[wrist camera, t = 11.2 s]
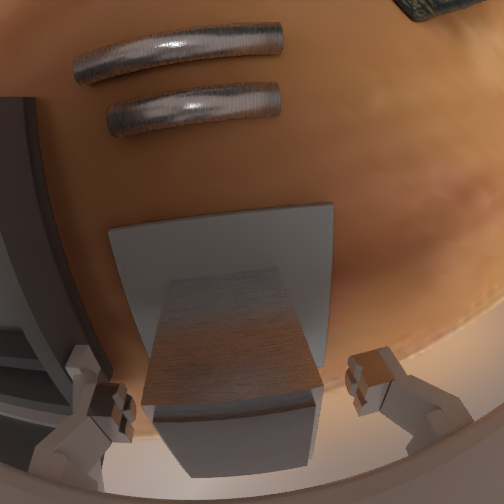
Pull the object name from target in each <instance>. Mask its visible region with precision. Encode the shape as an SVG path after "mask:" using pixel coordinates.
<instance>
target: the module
mask: <svg viewBox="0 0 504 504" xmlns="http://www.w3.org/2000/svg"><path fill="white" fill-rule="evenodd" d="M323 389H324V385H323V382H322V380H321V377H320V374H319V372H318V369H317V366H316V364H315V361H314V358H313V356H312V353H311V350H310V348H309V345H308V343H307V340H306V337H305V335H304V332H303V329H302V327H301V324H300V322H299V319H298V316H297V314H296V311H295V309H294V306H293V304H292V301H291V298H290V296H289V293H288V291H287V288H286V286H285V283H284V281H283V278H282V275H281V273H280V270H279V268H278V267H273V268H266V269H258V270H250V271H242V272H234V273H226V274H218V275H210V276H201V277H193V278H184V279H176V280H169V284H168V287H167V291H166V295H165V299H164V303H163V306H162V310H161V314H160V318H159V322H158V326H157V331H156V335H155V339H154V343H153V348H152V352H151V357H150V361H149V366H148V370H147V375H146V380H145V385H144V390H143V395H142V400H141V407H142V409H143V410H144V412H145V413H146V415H147V417H148V418H149V420H150V422H151V423H152V425H153V426H154V428H155V429H156V431H157V432H158V434H159V435H160V437H161V438H162V440H163V441H164V443H165V444H166V446H167V447H168V448H169V450H170V451H171V453H172V454H173V456H174V457H175V458H176V459H177V461H178V462H179V463H180V465H181V466H182V468H183V469H184V470H185V471H186V472H187V473H188V474H189V476H190V477H191V478H212V477H229V476H241V475H251V474H260V473H267V472H274V471H280V470H286V469H292V468H297V467H302V466H307V463H308V459H312V456H313V451H314V446H315V440H316V434H317V429H318V422H319V416H320V410H321V403H322V396H323Z"/></svg>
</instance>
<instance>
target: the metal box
mask: <svg viewBox="0 0 504 504" xmlns="http://www.w3.org/2000/svg"><path fill="white" fill-rule="evenodd" d="M395 1H396V2H397V3H398V4H399V6H400V7H401V8H402V9H403V10H404V11H405V12H406V13H407V14H408V15H409V16H410V17H412V18H413V19H414V20H415V21H418V22H421V21H426V20H429V19H431V18H433V17H435V16H438V15H442V14H446V13H449V12H452V11H456V10H460V9H464V8H467V7H469V6H471V5H474V4H477V3H480V2H482V1H485V0H395Z"/></svg>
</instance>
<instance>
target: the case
mask: <svg viewBox="0 0 504 504" xmlns="http://www.w3.org/2000/svg"><path fill="white" fill-rule="evenodd" d="M112 373H113V370H112V368H111V366H110V364H109V362H108V360H107V358H106V356H105V354H104V352H103V350H102V348H101V346H100V344H99V342H98V339H97V337H96V335H95V333H94V331H93V329H92V326H91V324H90V322H89V319H88V317H87V315H86V312H85V310H84V308H83V305H82V303H81V300H80V298H79V295H78V292H77V290H76V287H75V285H74V282H73V279H72V276H71V273H70V271H69V268H68V265H67V262H66V259H65V256H64V252H63V249H62V246H61V243H60V239H59V236H58V232H57V229H56V225H55V222H54V218H53V214H52V210H51V206H50V201H49V197H48V193H47V188H46V183H45V178H44V173H43V167H42V161H41V155H40V149H39V141H38V133H37V125H36V114H35V101H34V97H0V462H2V463H5V464H7V465H10V466H12V467H15V468H17V469H20V470H23V471H25V472H28V469H29V466H30V462H31V459H32V456H33V453H34V449H35V446H36V445H38V444H39V443H40V442H41V441H42V440H43V439H44V438H46V437H47V436H48V435H49V434H50V433H51V432H52V431H53V430H55V429H56V428H57V427H58V426H59V425H60V424H61V423H62V422H64V421H65V420H66V419H67V418H68V417H69V416H70V415H72V414H74V415H75V412H76V409H77V406H78V403H79V400H80V397H81V394H82V392H83V389H84V386H85V384H86V383H87V382H98V383H110V379H111V376H112ZM104 454H105V453H104ZM104 454H103V455H102V457H101V458H100V459H99V461H98V462H97V463H96V464H95V466H94V467H93V468H92V469H91V471H90V472H89V473H88V475H89V476H91V477H92V478H93V479H94V480H96V481H97V483H98V490H97V491H99V492H104V485H103V478H102V465H103V459H104Z"/></svg>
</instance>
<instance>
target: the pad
mask: <svg viewBox="0 0 504 504" xmlns="http://www.w3.org/2000/svg"><path fill="white" fill-rule="evenodd" d="M333 228H334V204H332V203H331V202H329V203H316V204H304V205H293V206H282V207H272V208H262V209H253V210H243V211H234V212H225V213H217V214H209V215H200V216H193V217H185V218H177V219H170V220H163V221H155V222H148V223H142V224H135V225H128V226H122V227H115V228H110V229H109V230H108V231H107V232H108V236H109V240H110V244H111V247H112V251H113V255H114V258H115V262H116V265H117V269H118V272H119V275H120V279H121V282H122V285H123V288H124V291H125V294H126V297H127V300H128V303H129V306H130V309H131V312H132V315H133V318H134V321H135V323H136V326H137V329H138V331H139V334H140V337H141V339H142V342H143V344H144V347H145V349H146V352H147V354H148V357H149V359H150V357H151V352H152V348H153V343H154V339H155V335H156V331H157V326H158V322H159V318H160V314H161V310H162V306H163V303H164V299H165V295H166V291H167V287H168V284H169V280H176V279H184V278H193V277H201V276H210V275H218V274H226V273H234V272H242V271H250V270H258V269H266V268H273V267H278V268H279V270H280V273H281V275H282V278H283V281H284V283H285V286H286V288H287V291H288V293H289V296H290V298H291V301H292V304H293V306H294V309H295V311H296V314H297V316H298V319H299V322H300V324H301V327H302V329H303V332H304V335H305V337H306V340H307V343H308V345H309V348H310V350H311V353H312V356H313V358H314V361H315V364H316V366H317V368H319V367H324V359H325V350H326V341H327V330H328V319H329V307H330V293H331V277H332V257H333Z"/></svg>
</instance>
